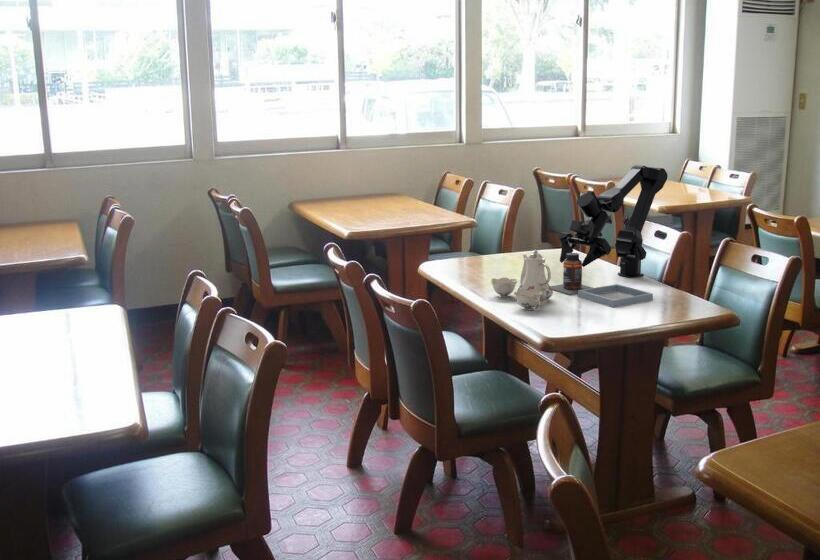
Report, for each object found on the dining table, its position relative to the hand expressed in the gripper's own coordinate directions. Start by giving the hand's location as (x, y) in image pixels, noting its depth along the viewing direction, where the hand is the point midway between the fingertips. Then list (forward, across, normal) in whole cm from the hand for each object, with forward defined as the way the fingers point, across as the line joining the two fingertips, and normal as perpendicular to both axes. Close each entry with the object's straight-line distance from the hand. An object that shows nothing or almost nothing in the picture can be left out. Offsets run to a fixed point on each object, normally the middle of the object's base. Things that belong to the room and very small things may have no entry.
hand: (571, 263), depth 288 cm
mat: (+6, 0, +6) cm, 8 cm away
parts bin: (+6, +17, +6) cm, 19 cm away
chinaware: (+22, +1, -10) cm, 24 cm away
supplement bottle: (+5, 0, +6) cm, 8 cm away
